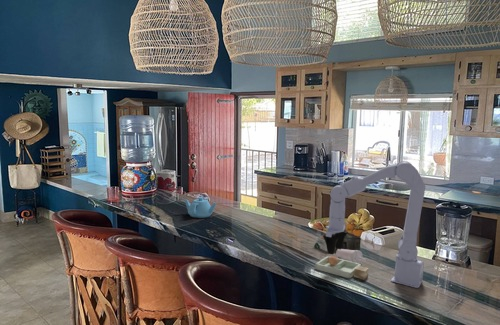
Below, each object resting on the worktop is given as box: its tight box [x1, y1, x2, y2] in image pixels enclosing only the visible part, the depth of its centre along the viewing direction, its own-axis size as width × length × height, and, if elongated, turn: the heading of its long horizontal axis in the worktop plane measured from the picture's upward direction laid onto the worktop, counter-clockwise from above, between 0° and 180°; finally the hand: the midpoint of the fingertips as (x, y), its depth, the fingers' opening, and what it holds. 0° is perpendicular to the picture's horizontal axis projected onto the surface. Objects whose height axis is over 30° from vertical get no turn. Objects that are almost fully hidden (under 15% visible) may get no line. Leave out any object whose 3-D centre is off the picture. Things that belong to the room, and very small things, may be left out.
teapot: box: [184, 196, 217, 219], centre depth 228 cm, size 15×15×11 cm
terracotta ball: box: [328, 255, 338, 265], centre depth 154 cm, size 4×4×4 cm
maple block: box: [353, 265, 369, 280], centre depth 144 cm, size 4×4×4 cm
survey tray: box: [314, 255, 362, 279], centre depth 151 cm, size 14×12×3 cm
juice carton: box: [313, 232, 362, 253], centre depth 179 cm, size 20×10×6 cm, turn 117°
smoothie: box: [335, 249, 368, 265], centre depth 159 cm, size 6×6×14 cm
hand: (334, 251), depth 151 cm, fingers open, 7 cm apart
